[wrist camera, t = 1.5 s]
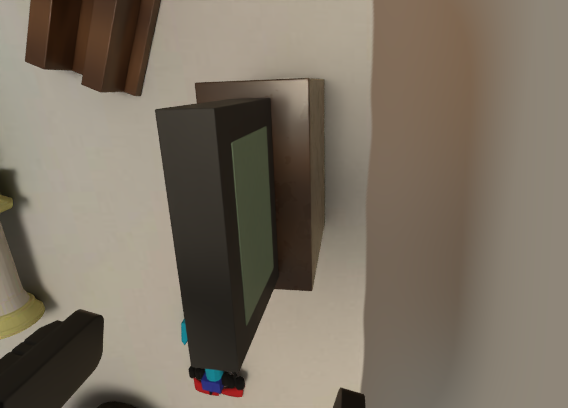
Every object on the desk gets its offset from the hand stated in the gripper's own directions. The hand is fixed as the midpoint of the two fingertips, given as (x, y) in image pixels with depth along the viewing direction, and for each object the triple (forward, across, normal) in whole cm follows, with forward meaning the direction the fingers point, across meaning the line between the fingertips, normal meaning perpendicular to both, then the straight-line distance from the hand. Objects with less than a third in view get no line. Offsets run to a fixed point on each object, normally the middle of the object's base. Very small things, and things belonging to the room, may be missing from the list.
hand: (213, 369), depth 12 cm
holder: (+26, +22, -13) cm, 36 cm away
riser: (+26, +2, -2) cm, 26 cm away
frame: (+13, +2, -2) cm, 13 cm away
